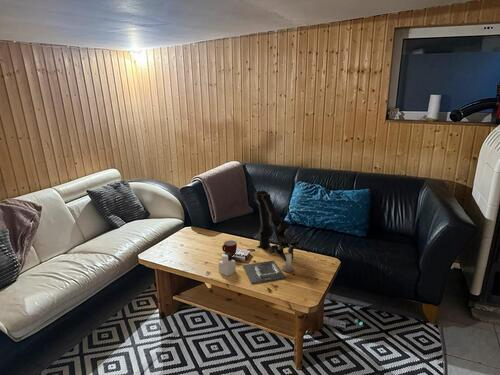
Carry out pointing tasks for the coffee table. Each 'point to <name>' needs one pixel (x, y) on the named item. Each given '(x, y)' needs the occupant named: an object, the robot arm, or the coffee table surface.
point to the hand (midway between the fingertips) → (289, 260)
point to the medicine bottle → (227, 264)
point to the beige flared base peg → (288, 263)
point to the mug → (230, 247)
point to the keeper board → (263, 272)
